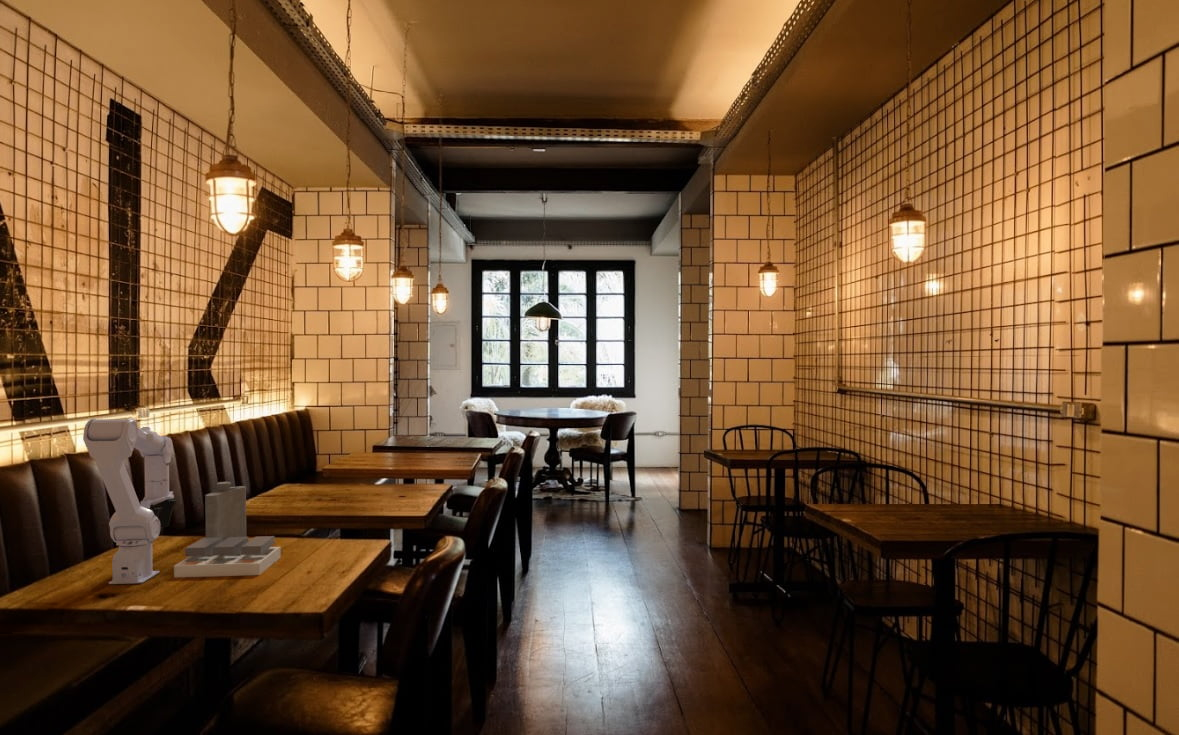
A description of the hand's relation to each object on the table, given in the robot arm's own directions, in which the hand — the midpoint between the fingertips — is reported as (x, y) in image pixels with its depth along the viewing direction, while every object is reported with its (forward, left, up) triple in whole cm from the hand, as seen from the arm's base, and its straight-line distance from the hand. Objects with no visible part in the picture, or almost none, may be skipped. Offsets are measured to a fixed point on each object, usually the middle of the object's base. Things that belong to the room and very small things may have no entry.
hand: (157, 530), depth 203 cm
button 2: (-4, -28, -5) cm, 28 cm away
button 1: (-4, -14, -5) cm, 15 cm away
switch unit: (-4, -21, -9) cm, 23 cm away
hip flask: (+13, -13, -10) cm, 21 cm away
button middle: (-4, -21, -5) cm, 22 cm away
